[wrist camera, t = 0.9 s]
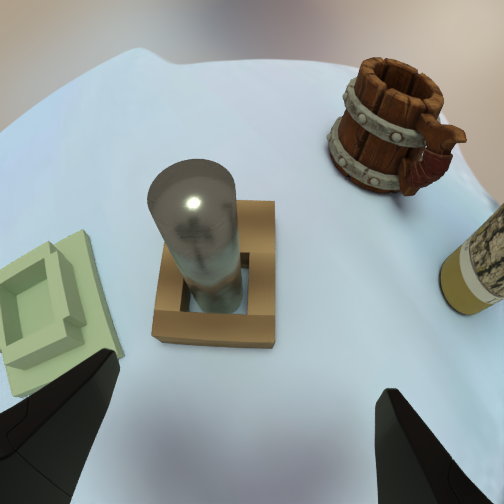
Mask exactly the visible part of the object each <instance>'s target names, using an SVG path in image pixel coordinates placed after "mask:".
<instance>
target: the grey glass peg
mask: <svg viewBox="0 0 504 504" xmlns="http://www.w3.org/2000/svg"><path fill="white" fill-rule="evenodd" d="M147 203H148V208H149V210H150V213H151V215H152V217H153V219H154V221H155V223H156V225H157V227H158V229H159V231H160V233H161V235H162V237H163V239H164V241H165V243H166V245H167V247H168V249H169V251H170V253H171V255H172V257H173V259H174V261H175V263H176V265H177V267H178V268H179V270H180V272H181V274H182V276H183V278H184V280H185V282H186V283H187V285H188V287H189V289H190V291H191V293H192V295H193V296H194V298H195V300H196V302H197V304H198V305H199V307H200V308H201V310H202V311H204V312H205V313H217V314H231V313H233V312H234V311H235V310H236V309H237V308H238V307H239V306H240V304H241V302H242V298H243V289H242V275H241V262H240V248H239V234H238V219H237V205H236V190H235V183H234V179H233V177H232V175H231V174H230V173H229V171H228V170H227V169H226V168H224V167H223V166H222V165H220V164H218V163H216V162H213V161H210V160H205V159H189V160H184V161H181V162H178V163H175V164H173V165H171V166H169V167H168V168H166V169H165V170H163V171H162V172H161V173H160V174H159V175H158V176H157V177H156V178H155V180H154V181H153V182H152V184H151V186H150V189H149V191H148V197H147Z"/></svg>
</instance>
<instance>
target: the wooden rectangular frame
mask: <svg viewBox="0 0 504 504" xmlns="http://www.w3.org/2000/svg"><path fill="white" fill-rule="evenodd" d="M236 205H237V219H238V234H239V248H240V262H241V268H249V284H248V312H247V315H243V314H217V313H197V312H188V310H189V299H190V289H189V287H188V285H187V283H186V282H185V280H184V278H183V276H182V274H181V272H180V270H179V268H178V267H177V265H176V263H175V261H174V259H173V257H172V255H171V253H170V251H169V249H168V247H167V245H166V243H165V242H164V248H163V254H162V260H161V266H160V273H159V279H158V286H157V293H156V300H155V308H154V316H153V324H152V333H151V336H153V337H154V338H156V339H157V340H159V341H161V342H162V343H173V344H185V345H199V346H215V347H236V348H273V345H274V343H275V201H253V200H236Z"/></svg>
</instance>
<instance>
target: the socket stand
mask: <svg viewBox="0 0 504 504" xmlns="http://www.w3.org/2000/svg"><path fill="white" fill-rule="evenodd" d="M102 348H108V349H112V350H114V351H115V352H116V355H117V358H118V359H119V358H122V357H124V353H123V351H122V348H121V345H120V342H119V340H118V337H117V334H116V331H115V328H114V325H113V322H112V319H111V316H110V313H109V310H108V306H107V303H106V300H105V296H104V293H103V290H102V286H101V282H100V279H99V275H98V271H97V267H96V264H95V260H94V256H93V251H92V247H91V243H90V238H89V236H88V235H87V233H86V232H85V231H84V230H83V229H82V230H80V231H78V232H76V233H74V234H72V235H71V236H69V237H67V238H65V239H63V240H61V241H59V242H58V243H56V244H54V245H53V244H52V243H51V242H49V241H48V242H46V243H44V244H42V245H41V246H39V247H37V248H35V249H34V250H32V251H30V252H29V253H27V254H25V255H24V256H22V257H20V258H19V259H17V260H15V261H14V262H12V263H10V264H9V265H7V266H6V267H4V268H2V269H1V270H0V353H2V355H3V361H4V365H5V367H6V371H7V376H8V380H9V384H10V388H11V392H12V396H14V397H21V398H22V397H25V396H28V395H30V394H33V393H35V392H36V391H38V390H39V389H41V388H42V387H44V386H45V385H47V384H48V383H50V382H52V381H53V380H55V379H56V378H58V377H59V376H61V375H62V374H64V373H65V372H67V371H68V370H70V369H71V368H73V367H75V366H76V365H78V364H79V363H81V362H82V361H84V360H85V359H87V358H88V357H90V356H91V355H93V354H95V353H96V352H98V351H99V350H101V349H102Z"/></svg>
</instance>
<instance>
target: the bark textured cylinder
mask: <svg viewBox="0 0 504 504" xmlns="http://www.w3.org/2000/svg"><path fill="white" fill-rule="evenodd" d="M441 286H442V290H443V293H444V295H445V297H446V299H447V301H448V302H449V304H450V305H451V306H452V307H453V308H454V309H455V310H457V311H459V312H460V313H463V314H466V315H473V314H476V313H478V312H480V311H482V310H484V309H486V308H488V307H490V306H491V305H493V304H495V303H497V302H499V301H501V300H503V299H504V203H503V204H502V205H501V206H500V207H499V208H498V210H497V211H496V212H495V213H494V214H493V215H492V216H491V217H490V218H489V219H488V220H487V221H486V222H485V223H484V224H483V225H482V226H481V227H480V228H479V229H478V230H477V231H476V232H474V233H473V234H472V235H471V236H470V237H469V238H468V239H467V240H466V241H465V242H464V243H463V244H462V245H461V246H460V247H459V248H458V249H457V250H455V251H454V252H453V253H452V254H451V255H450V256H449V257H448V258H447V259H446V260H445V262H444V263H443V266H442V269H441Z"/></svg>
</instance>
